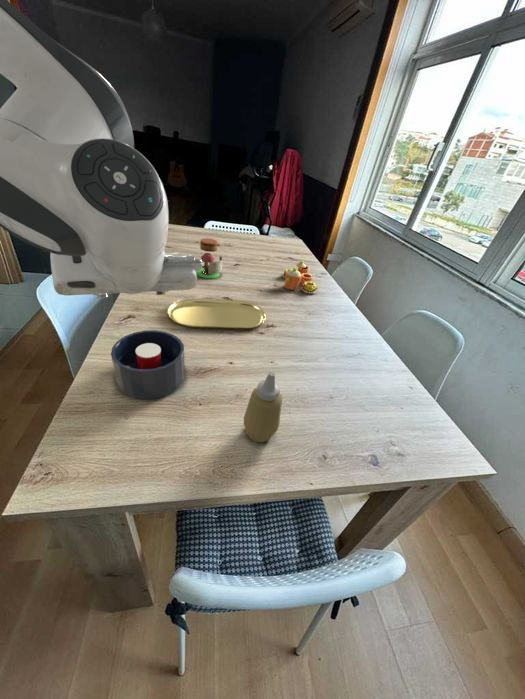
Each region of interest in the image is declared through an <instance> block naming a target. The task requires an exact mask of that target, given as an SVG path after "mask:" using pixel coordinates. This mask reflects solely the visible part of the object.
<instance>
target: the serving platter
mask: <svg viewBox="0 0 525 699" xmlns="http://www.w3.org/2000/svg"><path fill="white" fill-rule="evenodd" d="M166 313H167V316H168V317H169V319H170V320H172V321H173V322H174V323H176V324H178V325H180V326H183V327H188V328H201V329H202V328H204V329H234V330H235V329H237V330H242V329H243V330H247V329H249V330H250V329H254V328H257V327H259V326H261V325H262V324H264V322H265V321H266V319H267V315H266V312H265V311H264V309H262V308H261V307H260V306H258V305H256V304H254V303H251V302H247V301H242V300H227V299H226V300H225V299H224V300H223V299H204V298H186V299H181V300H177V301H174V302H173V303H171V304H170V305H169V306H168V307H167V312H166Z"/></svg>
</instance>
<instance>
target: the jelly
mask: <svg viewBox="0 0 525 699" xmlns="http://www.w3.org/2000/svg"><path fill="white" fill-rule="evenodd" d="M136 355H137V362H138V369H154V368H158V367H162V364H161V348H160V347H159V346H158V345H157V344H153V343H146V344H142V345H140V346H138V347H137V348H136Z"/></svg>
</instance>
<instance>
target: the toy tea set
mask: <svg viewBox="0 0 525 699" xmlns="http://www.w3.org/2000/svg"><path fill="white" fill-rule="evenodd" d="M296 267H297V268H296ZM309 271H310V267H309V266H308V265H306V264H305V263H304V261H303V260H300V262H297V263H296V264H295V267H293V268H291V267H290V268H286V269H285V270H284V271H283V274H282V277H283V278H284V288H285V289H286V290H289V291H296V290H297V289H298V287H299V285H300V284H301V285H302V286H301V288H300V290H301V291H302V292H304V293H306V294H315V293H316V292H317V291H316V290H318V286H317V284H316V283H315V282H312V280H313V278H314V277H313V275H312V274H310V273H308V272H309Z"/></svg>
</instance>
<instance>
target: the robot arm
mask: <svg viewBox="0 0 525 699" xmlns="http://www.w3.org/2000/svg"><path fill="white" fill-rule="evenodd" d="M0 75H1V76H3V77H4V78H5V79H6V80H8V81H9V82H11V84H13V85H14V86H15V87H16V89H15V91H14V92H12V94H11V96H10V97H9V98H8V99H7V100H6V101H5V102H4V104H3V105H2V106H1V107H0V227H1V228H2V229H3V230H5V231H6V232H7V233H8V234H10V235H12V236H14V237H15V238H17V239H18V240H21V241H22V242H24V243H26V244H28V245H30V246H32V247H35V248H37V249H38V250H42V251H45V252H47V253H50V254H49V257H50V258H49V260H50V271H51V278H52V284H53V290H54V291H55V292H56V294H58V295H61V296H85V295H86V296H87V295H93V296H96V297H97V299H102V298H103V299H104V298H109V296H108V294H109V295H110V294H127V295H131V294H132V295H134V294H140V293H147V292H148V293H150V292H155V293H156V295H157V296H160V295H161V296H162V295H163V296H164V295H166V293H167V292H169V291H190V290H193V289H194V288H196V286H197V282H198V275H197V274H196V272H197V271H199V270H200V269H201V268H202V267H203V266H204V262H203V261H202V260H201V258H195V256H194V255H191V254H190V253H185V252H183V253H182V252H166V249H165V248H166V244H167V241H168V235H169V234H168V233H169V203H168V197H167V193H166V190H165V188H164V184H163V182H162V180H161V178H160V177H159V174H158V172H157V170H156V169H155V167H154V165H153V164H152V163H151V162H150V161H149V160H148V158H146V157H145V156H144V155H143V154H142V153H141V152H140V151H138V150H137V149H135V139H134V133H133V127H132V124H131V120H130V117H129V114H128V112H127V109H126V107H125V105H124V103H123V101H122V99H121V97H120V95H119V94H118V93H117V91H116V89H115V87H113V86H112V84H111V83H110V82H109V81H108V80H107V79H106V78H105V77H104V76H103V75H102V74H101V73H99V71H98V70H96V69H95V68H94V67H92V66H91V65H89V63H87V62H86V61H84V60H83V59H82V58H80V57H78V56H77V55H76V54H74V53H73V52H71V51H70V50H68V49H67V48H66V47H64V46H63V45H61V44H60V43H58V42H57V41H56V40H55V39H53V38H52V37H50V36H49V35H48V34H47V33H45V31H43V30H42V29H41V28H39V27H38V25H36V24H35V23H34V22H33V21H32V20H30V19H29V17H27V16H26V15H25V14H23V12H21V11H20V10H19V9H18V8H17V7H16V6H14V4H13V3H12V2H10V1H9V0H0Z"/></svg>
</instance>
